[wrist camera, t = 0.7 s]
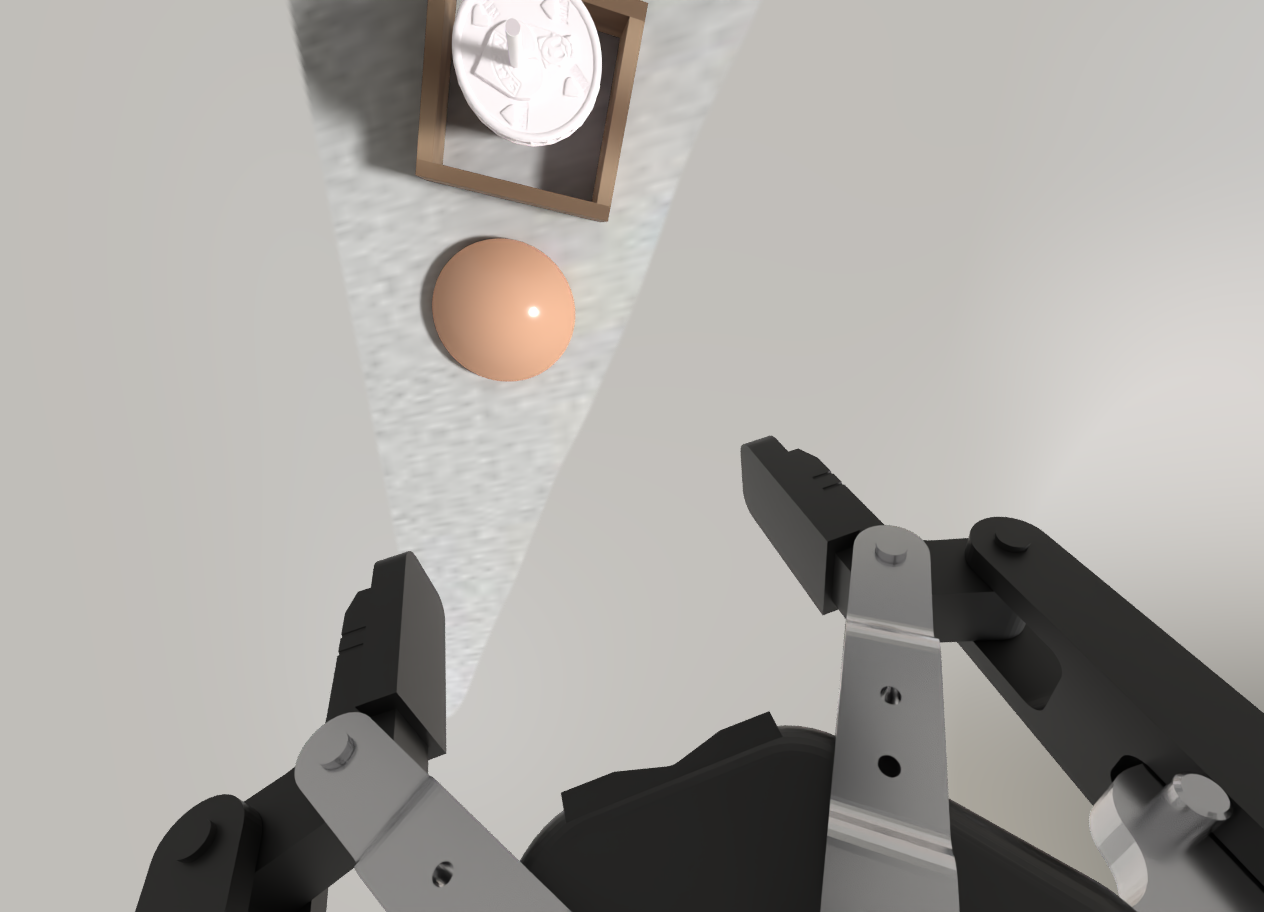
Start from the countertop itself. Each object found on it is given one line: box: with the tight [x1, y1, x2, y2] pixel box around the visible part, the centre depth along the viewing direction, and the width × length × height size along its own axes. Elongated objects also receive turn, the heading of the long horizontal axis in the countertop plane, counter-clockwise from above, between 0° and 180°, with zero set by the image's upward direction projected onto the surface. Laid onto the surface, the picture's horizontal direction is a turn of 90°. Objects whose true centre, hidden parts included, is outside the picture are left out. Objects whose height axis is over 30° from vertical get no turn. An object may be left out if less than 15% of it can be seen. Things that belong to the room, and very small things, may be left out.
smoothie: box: [452, 0, 602, 147], centre depth 26 cm, size 6×6×14 cm
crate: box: [416, 0, 648, 222], centre depth 31 cm, size 11×11×4 cm
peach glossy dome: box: [432, 238, 575, 381], centre depth 36 cm, size 9×9×1 cm
